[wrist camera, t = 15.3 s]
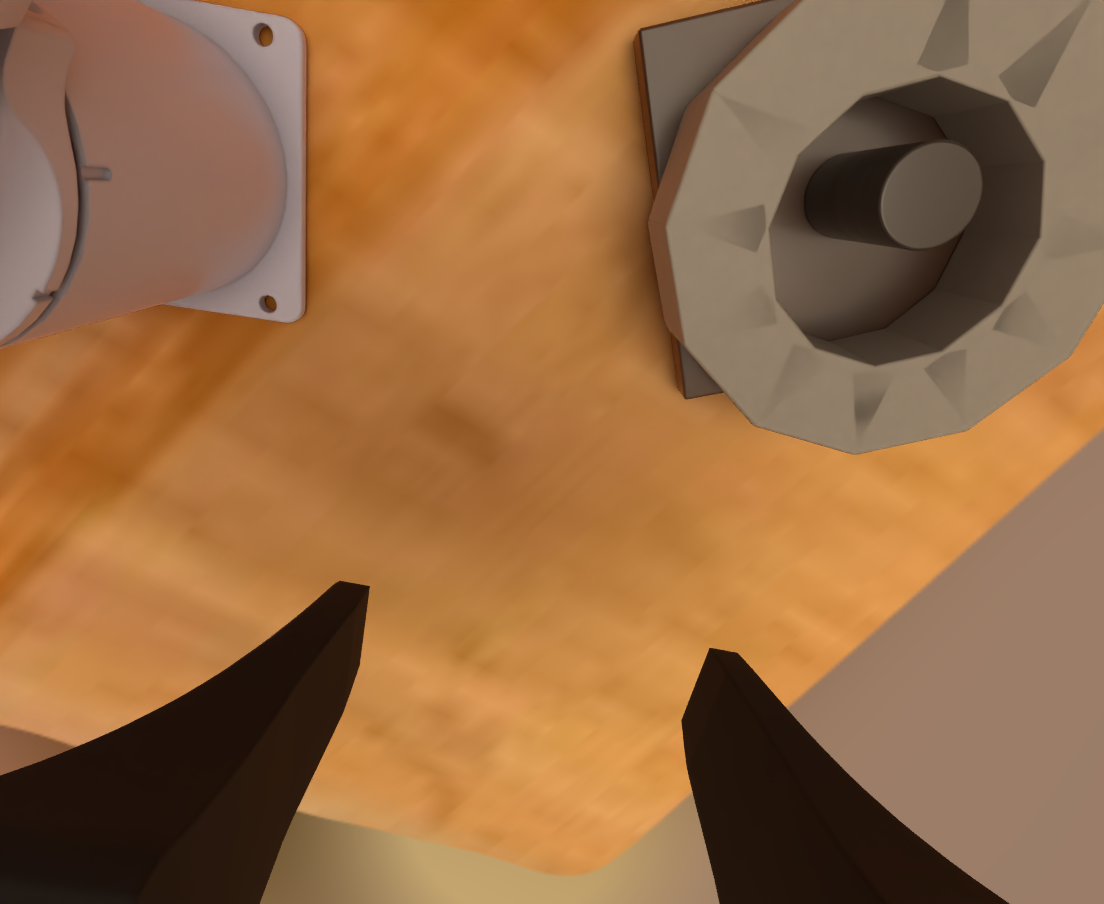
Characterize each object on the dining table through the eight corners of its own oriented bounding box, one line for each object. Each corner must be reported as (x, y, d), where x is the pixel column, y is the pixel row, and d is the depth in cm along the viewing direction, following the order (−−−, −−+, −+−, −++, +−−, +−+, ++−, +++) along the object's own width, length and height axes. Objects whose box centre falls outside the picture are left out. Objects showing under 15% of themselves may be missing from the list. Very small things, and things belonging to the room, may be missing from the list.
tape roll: (572, 219, 17) (576, 224, 15) (918, -127, 15) (1004, -203, 12) (801, 479, 20) (839, 524, 18) (1124, 235, 18) (1232, 242, 15)
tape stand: (677, 389, 21) (718, 453, 16) (632, 39, 17) (667, -29, 12) (991, 330, 20) (1143, 376, 15) (1016, -50, 16) (1231, -164, 11)
